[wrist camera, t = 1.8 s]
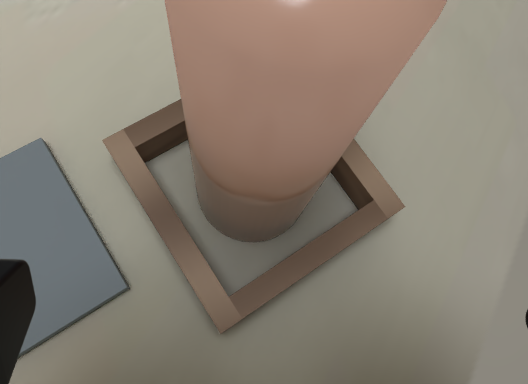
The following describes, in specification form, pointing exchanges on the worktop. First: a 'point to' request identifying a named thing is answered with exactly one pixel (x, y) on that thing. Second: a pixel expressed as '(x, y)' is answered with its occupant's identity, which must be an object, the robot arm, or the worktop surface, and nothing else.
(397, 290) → the worktop surface
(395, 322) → the worktop surface
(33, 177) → the mat
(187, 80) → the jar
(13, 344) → the robot arm
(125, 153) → the holder
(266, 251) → the worktop surface
